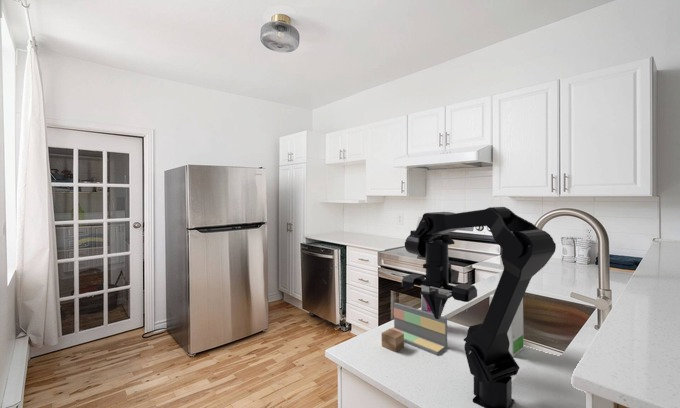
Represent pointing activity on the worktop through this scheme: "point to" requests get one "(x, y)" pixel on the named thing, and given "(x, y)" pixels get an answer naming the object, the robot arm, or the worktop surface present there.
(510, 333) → the skincare box
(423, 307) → the supplement box
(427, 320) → the tuner gauge
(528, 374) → the worktop surface
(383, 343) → the block
